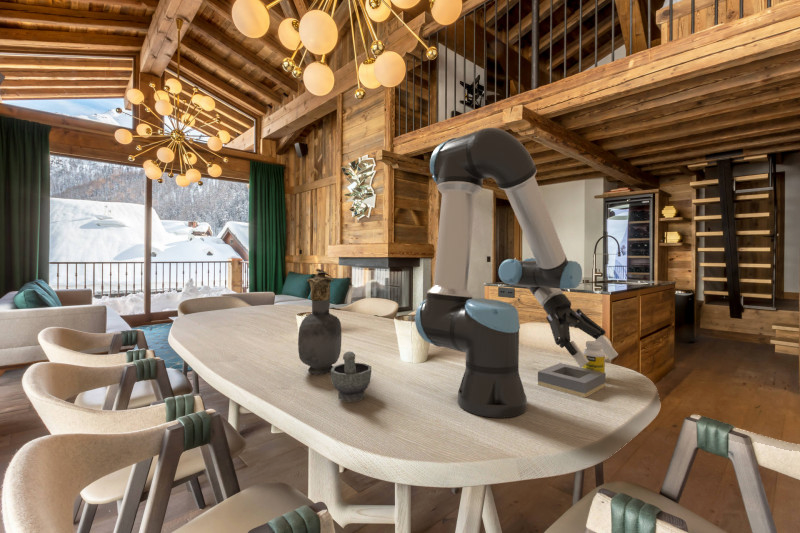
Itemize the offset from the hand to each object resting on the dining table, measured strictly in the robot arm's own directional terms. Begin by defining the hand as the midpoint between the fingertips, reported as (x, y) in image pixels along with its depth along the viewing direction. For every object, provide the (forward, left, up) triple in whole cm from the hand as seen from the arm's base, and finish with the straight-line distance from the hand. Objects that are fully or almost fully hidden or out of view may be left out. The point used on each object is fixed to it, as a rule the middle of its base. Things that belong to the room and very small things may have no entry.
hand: (600, 360), depth 102 cm
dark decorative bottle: (-53, +58, -5) cm, 79 cm away
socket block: (-11, +3, -5) cm, 12 cm away
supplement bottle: (0, +2, -5) cm, 6 cm away
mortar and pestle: (-59, +33, -5) cm, 68 cm away
